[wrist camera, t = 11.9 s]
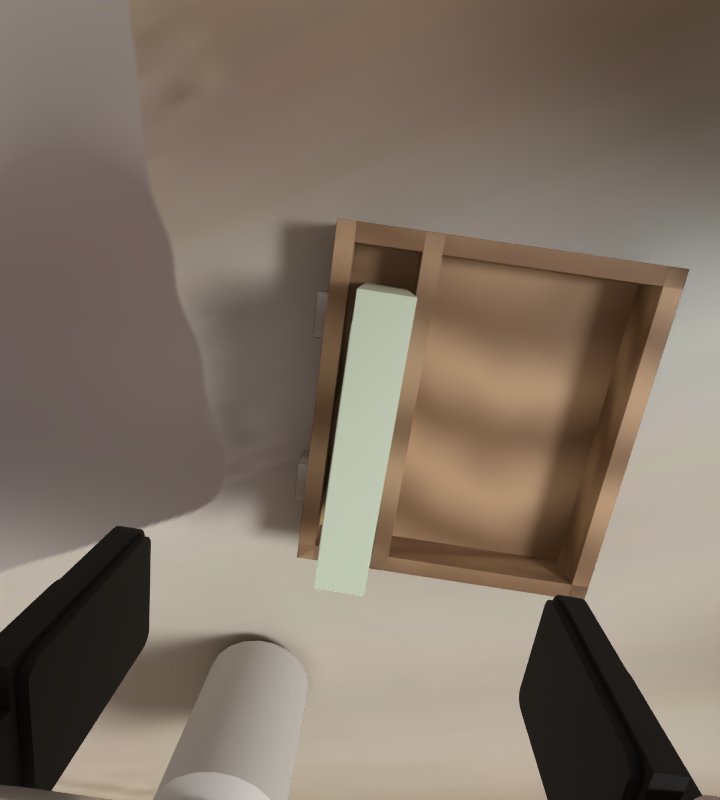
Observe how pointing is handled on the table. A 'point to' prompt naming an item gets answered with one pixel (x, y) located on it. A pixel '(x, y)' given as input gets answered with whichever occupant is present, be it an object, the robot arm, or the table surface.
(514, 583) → the wooden divided tray
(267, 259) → the table surface
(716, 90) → the table surface
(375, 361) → the door
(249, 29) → the table surface
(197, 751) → the can
